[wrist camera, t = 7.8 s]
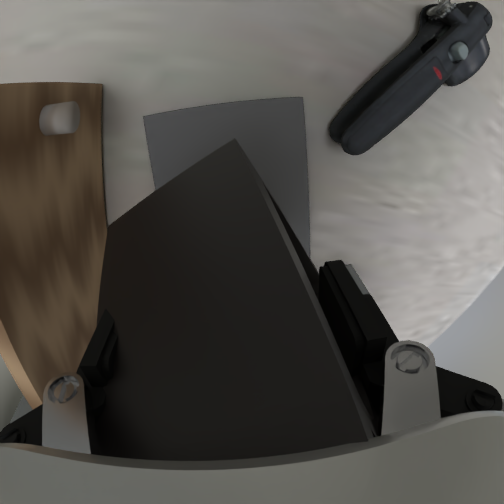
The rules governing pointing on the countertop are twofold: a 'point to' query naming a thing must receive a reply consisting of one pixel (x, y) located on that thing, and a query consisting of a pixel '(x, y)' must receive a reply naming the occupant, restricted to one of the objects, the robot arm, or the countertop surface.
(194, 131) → the rubber mat
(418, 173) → the countertop surface
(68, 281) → the gate door
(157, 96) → the countertop surface
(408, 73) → the can opener
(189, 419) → the phone stand
